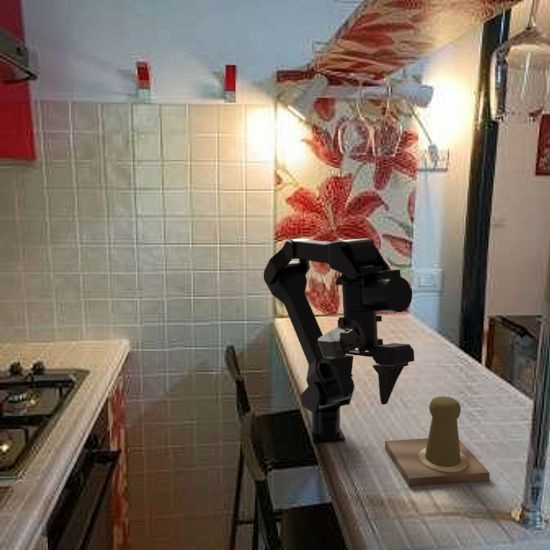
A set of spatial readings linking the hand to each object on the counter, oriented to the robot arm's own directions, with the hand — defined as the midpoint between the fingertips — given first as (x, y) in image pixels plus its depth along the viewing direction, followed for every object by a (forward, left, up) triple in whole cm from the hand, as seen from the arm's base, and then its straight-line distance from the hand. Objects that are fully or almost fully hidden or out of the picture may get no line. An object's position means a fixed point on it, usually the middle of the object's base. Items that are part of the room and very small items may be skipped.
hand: (364, 400), depth 94 cm
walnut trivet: (+1, +13, -12) cm, 18 cm away
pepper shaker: (+2, +14, -11) cm, 18 cm away
